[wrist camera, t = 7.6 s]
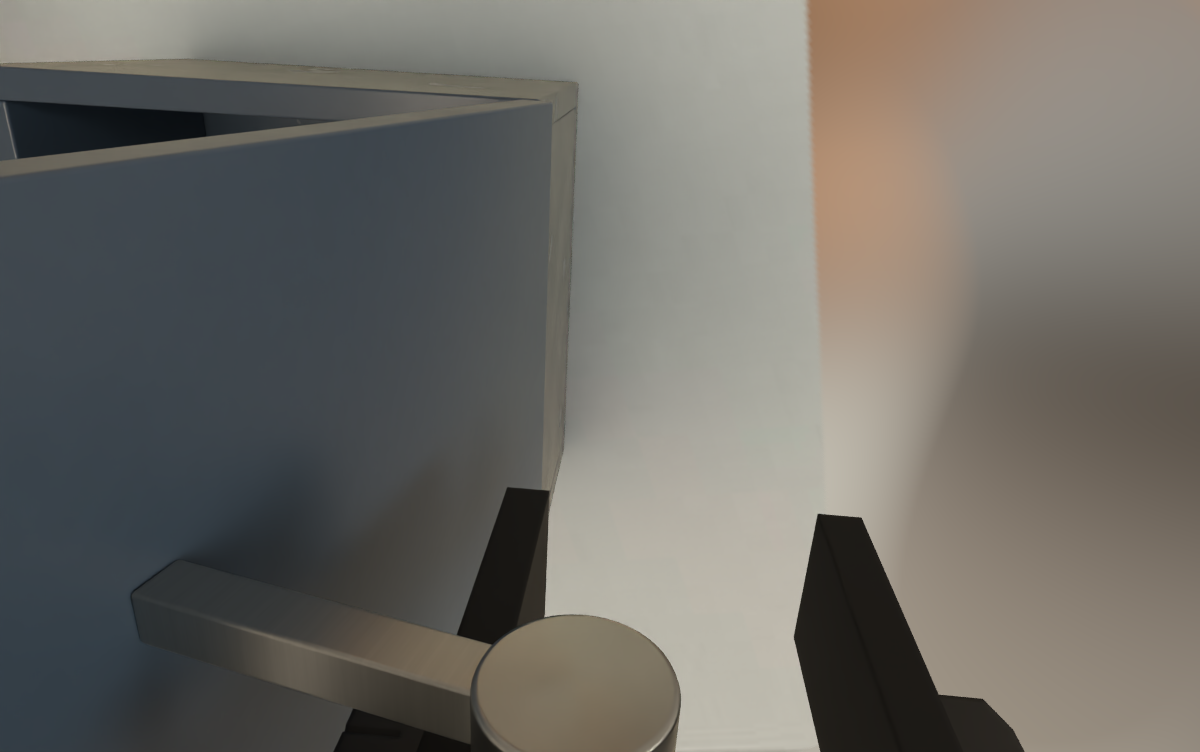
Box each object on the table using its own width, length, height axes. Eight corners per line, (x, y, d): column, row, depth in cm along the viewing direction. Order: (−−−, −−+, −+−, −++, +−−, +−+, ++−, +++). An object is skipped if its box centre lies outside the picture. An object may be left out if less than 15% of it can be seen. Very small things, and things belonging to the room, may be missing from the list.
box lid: (83, 1279, 11) (550, 1549, 9) (-371, 203, 5) (651, 376, 3) (514, 606, 24) (737, 664, 22) (521, 98, 18) (821, 122, 17)
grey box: (237, 424, 34) (85, 560, 25) (186, 58, 28) (-35, 63, 19) (564, 450, 33) (528, 600, 24) (578, 82, 28) (539, 99, 19)
